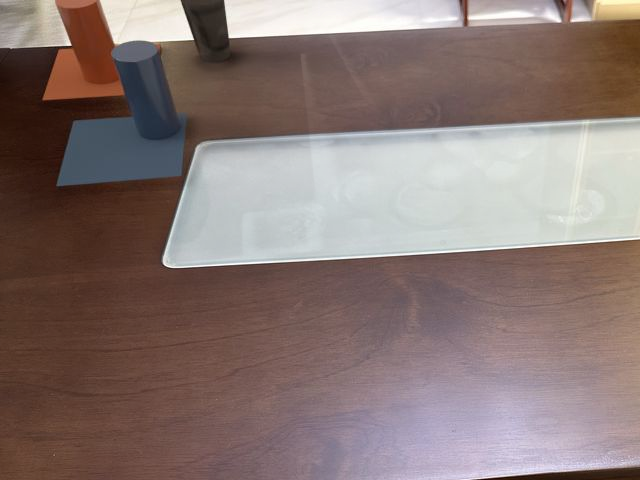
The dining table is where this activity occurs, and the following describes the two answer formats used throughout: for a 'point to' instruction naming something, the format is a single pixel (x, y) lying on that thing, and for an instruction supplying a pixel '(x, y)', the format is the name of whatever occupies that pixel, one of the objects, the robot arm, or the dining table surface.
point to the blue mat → (119, 153)
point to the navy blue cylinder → (146, 89)
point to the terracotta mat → (76, 80)
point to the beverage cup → (208, 28)
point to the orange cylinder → (89, 38)
